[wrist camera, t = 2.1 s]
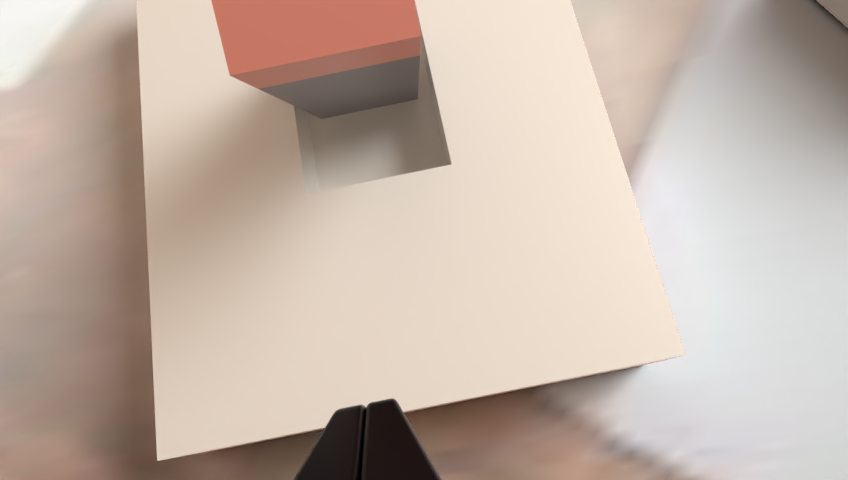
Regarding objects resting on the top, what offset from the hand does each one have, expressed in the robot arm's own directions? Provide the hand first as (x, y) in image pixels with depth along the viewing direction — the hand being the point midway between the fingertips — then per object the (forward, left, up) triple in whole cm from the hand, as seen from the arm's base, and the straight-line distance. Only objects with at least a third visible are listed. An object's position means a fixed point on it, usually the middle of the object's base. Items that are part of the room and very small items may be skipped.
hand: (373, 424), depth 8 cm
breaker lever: (+10, +8, -10) cm, 16 cm away
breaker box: (+8, +6, -13) cm, 17 cm away
